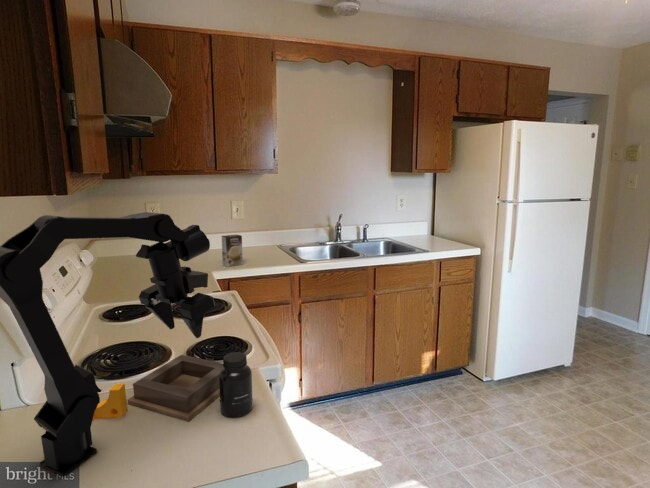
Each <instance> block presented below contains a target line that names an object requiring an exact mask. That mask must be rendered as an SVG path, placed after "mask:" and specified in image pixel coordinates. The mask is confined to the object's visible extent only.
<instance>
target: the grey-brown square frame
mask: <svg viewBox="0 0 650 488" xmlns="http://www.w3.org/2000/svg"><path fill="white" fill-rule="evenodd" d="M222 368H223V362H218V361H217V362H216V361H213V360H209V359H208V360H207V359H204V358H198V357H195V356H190V355H185V354H179V356H177V357H175V358H173V359H172V360H170V361H169V362H167V363H165V364H164V365H162V366H160V367H159V368H157V369H154V370H153V371H151V372H150V373H148V374H147V375H145V376H143V377H142V378H140V379H138V380H136V381H135V382H134V383H132V388H133V389H132V390H133V396H131V397H129V398H128V399H126V400H127V405H130V406H134V407H138V408H141V409H143V410H144V409H145V410H148V411H151V412H155V413H158V414H161V415H164V416H168V417H171V418H175V419H179V420H183V421H185V422H188V423H189V422H190V421H192V420H193V419H194V418H195V417H197V416H198V415H199V414H200V413H201V412H203V411H205V409H206V408H207V407H208V406H209V405H211V404H212V403H213V402H214V401H216V400H217V399H218V398H220V389H219V373H220V371H221V369H222Z"/></svg>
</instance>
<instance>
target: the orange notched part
mask: <svg viewBox="0 0 650 488" xmlns="http://www.w3.org/2000/svg"><path fill="white" fill-rule="evenodd" d="M108 391H109V392H108V393H109V394H108V398H107V399H105V400H102V401H101V400H100V403H99V404H98V405H97V408H96V410H95V412H94V416H93V420H92V422H94V420H95V419H96V420H97V419H119V418H120V419H121V418H124V416H125V415H126V413H127V411H128V402H127V400H128V399H127V394H126V384H125V383H123V382H121V383H115V384H113V386H111V388H110V389H109V390H108Z"/></svg>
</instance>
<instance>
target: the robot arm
mask: <svg viewBox="0 0 650 488" xmlns="http://www.w3.org/2000/svg"><path fill="white" fill-rule="evenodd" d="M115 238H131V239H137V240H144V241H151V242H155V243H154V244H152V245H149V244H141V246H140V249H139V250H138V251H137V253H136V254H135V257H136V258H139V259H143V260H144V259H145V260H148V262H149V266H150V269H151V273H152V275H153V276H152V277H150V278H149V280H150V283H151V284H153V285H150V286H149V287H147V288H145V289H143V290H141V291H140V293H139V295H138V299H139V302H140V304H141V305H144V307H145V308H146V309H148V310H149V311H150V312H151V313H152V314H153V315H154V316H156V317H157V318H158V320H159V321H161V322H162V323H163V325H165V326H166V327H167V328H168V329H169V330H173V329H175V327H176V326H175V319H174V318H175V317H174V314H173V313H174V312H173V308H172V305H173V304H175V305H179V309H178V310H179V312H180V314H181V315H182V316H181V319H182V320H183V322H184V324H185V325H186V326H187V328H188V329H189V330H190V332H191V333H192V334H193V336H194V337H195V339H199V338H201V336H202V332H203V323H204V319H205V318H204V317H205V314H206V313H207V312H209V311H210V310H212V309H213V308H214V307H215V306H216V304H215V303H216V302H215V300H214V296H212V295H209V294H205V293H201V292H197V293H195V294H193V295H191V296H188V294H192V293H194V292H195V289H198V288H204V289H205V288H208V282H209V281H208V280H209V273H208V272H204V271H199V270H192V269H191V267H189V266H182V265H181V262H180V260H181V261H183V262H189V261H190V260H193V259H194V258H196V257H198V256H200V255H203V254H204V253H205V254H206V253H207V252H209V250H210V247H211V242H210V239H209V238H208V237H207V235H206V234H205V232H204V231H203V230H201V228H200V225H199V224H191V225H189V226H188V227H186V228H184V229H181V228H180V227H179V226H177V225H176V224H175V222H174V220H173V218H172V217H171V215H169V214H166V213H161V212H147V211H145V212H138V213H133V214H128V215H125V216H119V217H118V216H117V217H115V216H114V217H113V216H111V217H110V216H108V217H107V216H105V217H104V216H102V217H101V216H98V217H97V216H57V215H52V214H50V215H49V214H45V215H42V216H39V217H38V218H37V219H35V220H34V222H32V223H31V224H29V226H27V227H26V228H25V229H22V230H21V231H19V232H17V233H16V234H14V235H13V236H12V237H9V239H7V240H6V241H4V242H3V243H2V244H1V245H0V299H1V300H2V301H3V302H4V303H5V304H6V306H8V307H9V309H10V311H11V313H12V315H13V317H14V319H15V320H16V322H17V325H18V327H19V328H20V330H21V332H22V335H23V336H24V338H25V340H26V343H27V344H28V346H29V348H30V350H31V352H32V354H33V356H34V358H35V360H36V362H37V363H38V365H39V367H40V369H41V371H42V373H43V375H44V394H45V397H46V401H45V402H44V404H43V405H42V406H41V408H40V410H39V411H38V412H37V413H36V415H35V416H34V418H33V420H34V422H35V423H36V424H37V425H38V427H40V428H42V429H43V430H44V431H45V432H44V433H43V434H42V435H40V440H41V445H42V453H43V458H44V459H43V460H41V461H40V462H39V466H40V467H41V468H43V469H46V470H47V471H48V470H49V471H50V472H53V473H56V474H57V475H60V476H66V475H68V474H69V473H70V472H71V471H73V470H74V469H76V468H77V467H78V466H80V465H81V464H82V463H84V462H85V461H87V460H89V458H91V457H92V456H94V455H96V453H98V449H97V448H96V447H93V437H92V428H91V427H92V424H93V421H94V420H93V416H94V412H95V410H96V408H97V405H98V404H99V403H100V401H101V398H100V394H99V393H101V392H102V389H100V387H98V385H97V382H96V378H95V375H94V373H93V372H91V371H89V370H88V369H86V368H84V367H82V366H79V365H78V364H74V362H73V361H72V358H71V356H70V354H69V352H68V349H67V347H66V345H65V343H64V341H63V339H62V337H61V335H60V333H59V330H58V329H57V326H56V324H55V323H54V322H55V321H54V320H53V318H52V316H51V313H50V312H49V310H48V307H47V306H46V304H45V301H44V298H43V289H44V286H43V285H44V281H43V277H42V272H41V268H42V267H43V266H45V265H46V263H48V261H50V260H51V258H52V257H53V255H54V254H55V252H56V250H57V249H58V248H59V245H60V244H61V243H62V242H64V241H65V240H81V239H83V240H84V239H115ZM92 420H93V421H92Z"/></svg>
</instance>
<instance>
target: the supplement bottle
mask: <svg viewBox="0 0 650 488" xmlns="http://www.w3.org/2000/svg"><path fill="white" fill-rule="evenodd" d="M222 363H223V368H222V369H221V371H220V373H219V389H220V396H219V405H220V407H219V408H220V412H221V413H222V415H224V416H225V417H229V418H239V417H243V416H244V415H247V414H249V412H251V410H252V409H253V406H254V405H253V404H254V403H253V371H252V369H251V367H250V366H249V365H248V361H247V354H246V353H244V352H239V351H238V352H237V351H235V352H230V353H227V354H225V355H224V356H223V360H222Z"/></svg>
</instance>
